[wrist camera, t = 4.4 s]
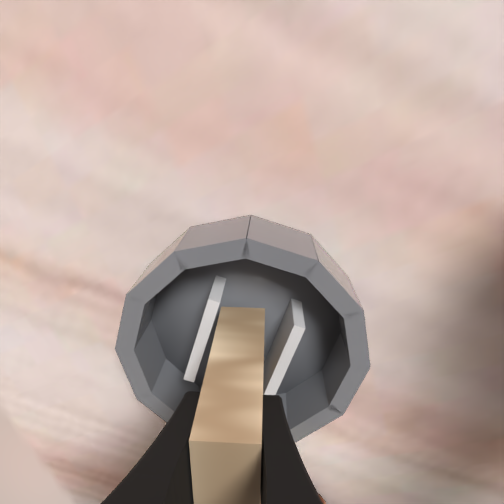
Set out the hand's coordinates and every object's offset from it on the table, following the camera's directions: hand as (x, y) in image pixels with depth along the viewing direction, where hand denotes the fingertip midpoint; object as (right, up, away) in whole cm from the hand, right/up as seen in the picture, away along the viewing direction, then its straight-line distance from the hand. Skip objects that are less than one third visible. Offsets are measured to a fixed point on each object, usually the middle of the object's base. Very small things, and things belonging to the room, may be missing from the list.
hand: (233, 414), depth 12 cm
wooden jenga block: (0, +2, +4) cm, 5 cm away
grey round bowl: (0, +2, +6) cm, 6 cm away
